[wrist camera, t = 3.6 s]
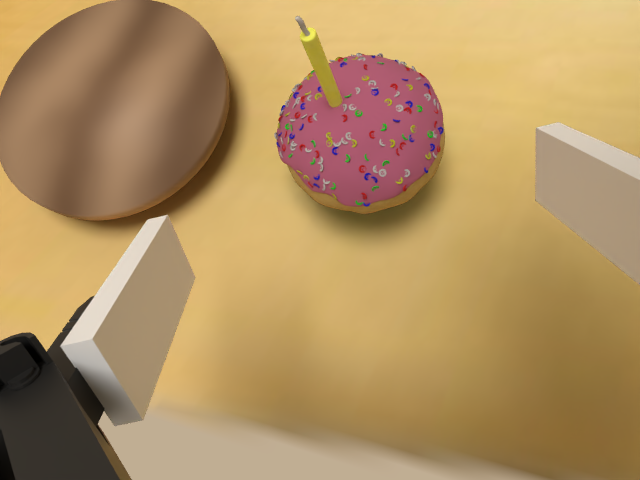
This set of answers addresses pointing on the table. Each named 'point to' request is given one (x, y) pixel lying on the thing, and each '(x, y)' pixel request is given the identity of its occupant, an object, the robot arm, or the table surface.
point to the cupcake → (360, 130)
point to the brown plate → (113, 110)
